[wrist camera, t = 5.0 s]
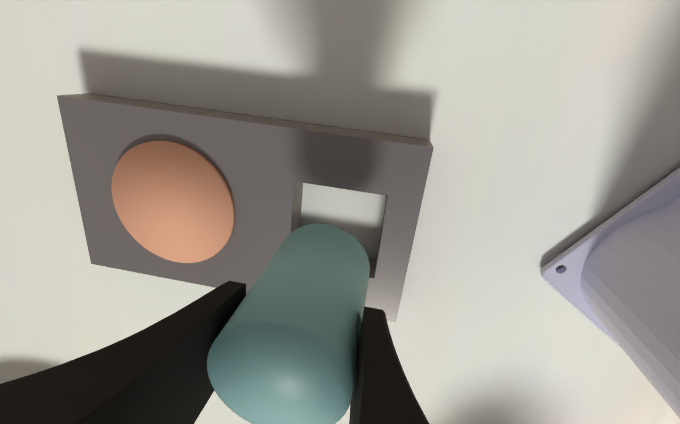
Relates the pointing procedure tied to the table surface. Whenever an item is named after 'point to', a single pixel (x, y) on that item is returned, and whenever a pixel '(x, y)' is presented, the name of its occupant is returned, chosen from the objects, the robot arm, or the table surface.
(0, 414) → the robot arm
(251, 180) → the board with square hole
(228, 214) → the orange disc
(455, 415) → the table surface
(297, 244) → the plug
